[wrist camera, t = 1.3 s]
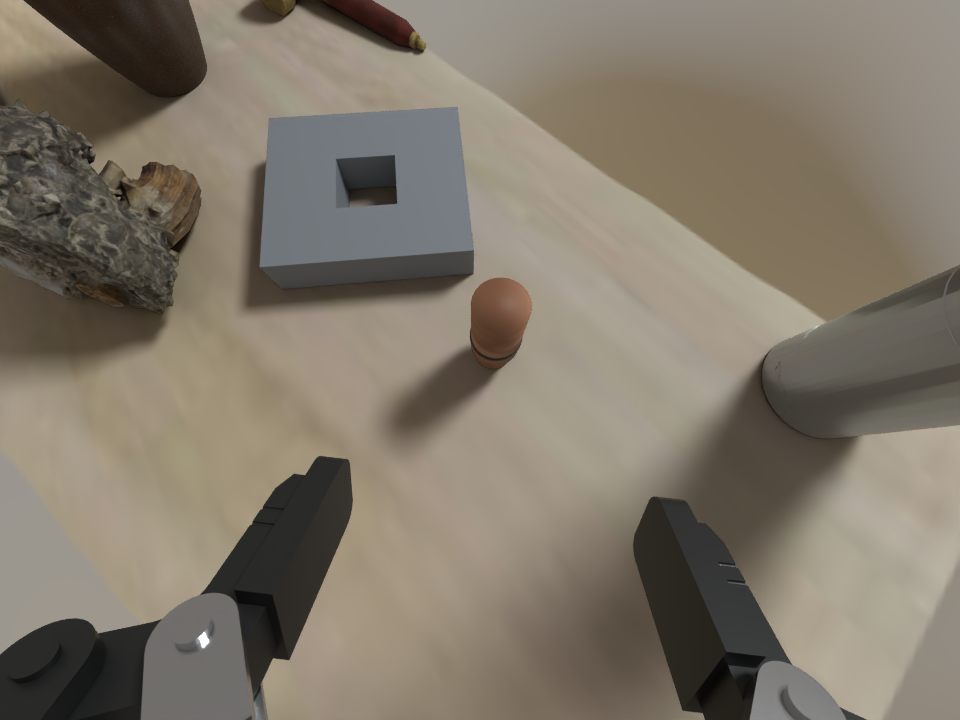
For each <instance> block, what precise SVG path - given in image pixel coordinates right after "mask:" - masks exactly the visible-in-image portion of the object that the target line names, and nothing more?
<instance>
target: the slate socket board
mask: <svg viewBox="0 0 960 720" xmlns="http://www.w3.org/2000/svg"><path fill="white" fill-rule="evenodd" d="M391 186H396V187H397V204H388V205H374V206H360V207H349V189H362V188H376V187H391ZM259 267H260V268H261V269H262V270H263V271H264V272H265V273H266V274H267V275H268V276H269V277H270V278H271V279H272V280H273V281H274V282H275V283H276V284H277V285H278V286H279V287H280V288H281V289H291V288H303V287H315V286H327V285H339V284H352V283H364V282H376V281H388V280H401V279H413V278H425V277H437V276H450V275H462V274H473V268H474V249H473V240H472V231H471V222H470V213H469V204H468V195H467V186H466V178H465V169H464V160H463V151H462V142H461V133H460V124H459V116H458V107H449V108H432V109H415V110H399V111H382V112H365V113H349V114H332V115H315V116H299V117H282V118H269V126H268V141H267V157H266V173H265V188H264V204H263V220H262V235H261V251H260V266H259Z"/></svg>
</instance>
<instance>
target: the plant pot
mask: <svg viewBox="0 0 960 720" xmlns="http://www.w3.org/2000/svg"><path fill="white" fill-rule="evenodd" d="M24 1H25V2H26V3H27V4H29V5H30V6H31V7H32V8H34V9H35V10H36V11H37V12H39V13H40V14H41V15H42V16H44V17H45V18H46V19H47V20H49V21H50V22H51V23H52V24H54V25H55V26H56V27H57V28H59V29H60V30H61V31H63V32H64V33H65V34H66V35H68V36H69V37H70V38H72V39H73V40H74V41H76V42H77V43H78V44H80V45H81V46H82V47H84V48H85V49H86V50H88V51H89V52H90V53H92V54H93V55H94V56H96V57H97V58H98V59H100V60H101V61H103V62H104V63H106V64H107V65H108V66H110V67H111V68H113V69H114V70H116V71H117V72H118V73H120V74H121V75H123V76H124V77H126V78H127V79H129V80H130V81H132V82H133V83H135V84H136V85H138V86H140V87H141V88H143V89H144V90H146V91H147V92H149V93H151V94H154V95H157V96H163V97H172V96H177V95H181V94H184V93H186V92H188V91H190V90H192V89H194V88H195V87H196V86H197V85H198V84H199V83H200V82H201V81H202V80H203V78H204V77H205V74H206V71H207V64H206V59H205V55H204V51H203V47H202V43H201V39H200V36H199V32H198V29H197V25H196V22H195V19H194V15H193V12H192V9H191V6H190V3H189V0H24Z"/></svg>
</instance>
